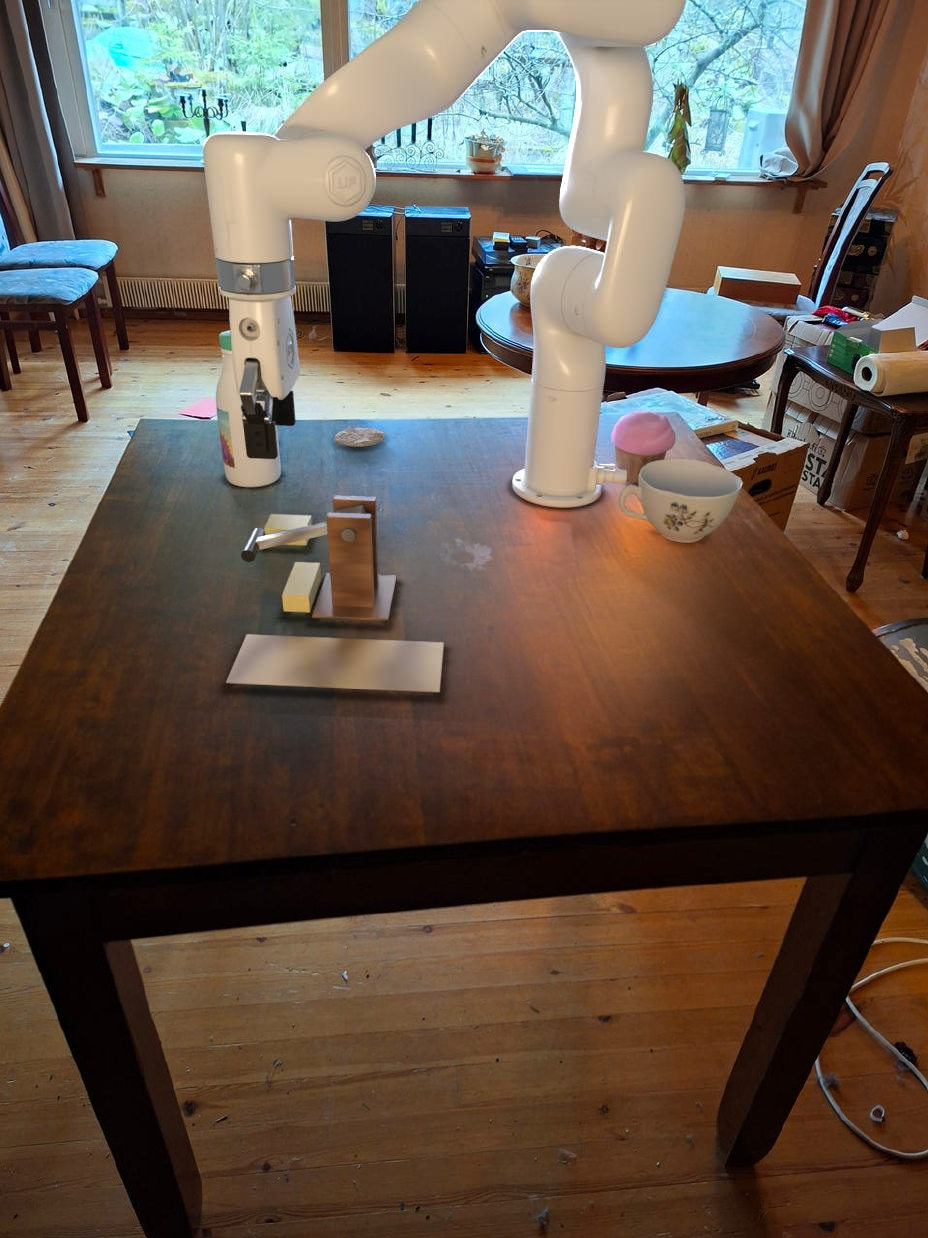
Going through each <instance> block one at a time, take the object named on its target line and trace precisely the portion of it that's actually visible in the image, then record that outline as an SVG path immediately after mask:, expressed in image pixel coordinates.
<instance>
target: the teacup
mask: <svg viewBox="0 0 928 1238" xmlns="http://www.w3.org/2000/svg"><path fill="white" fill-rule="evenodd" d="M743 484H744V482H743V480H742V478H741V477H740V476H737V475H736V474H735V473H733V472H732V471H730V470H728V469H726V468H725V467H724V468H723V467H722V466H721V467H720V466H718V465H713V464H711V463H709V462H705V461H701V460H697V459H692V458H677V457H673V458H672V457H671V458H664V460H656V461H653V462H650V463H647V464H646V465H645V466H644V467H642V468H641V470H640V473H639V478H638V483H637V485H638V486H637V485H635V484H629V485H626V486H625V487H624V488H623V489H622V490H621V492H620V493H619V499H618V506H619V509H620V511H621V512H622V513H623V514H624V515H625V516H626V517H628V518H632V519H638V520H644V521H646V522H648V523H649V524H650V525H651V526H652V527H653V528H654V529H655V530H656V531H657V532H658V534H659V535H660V536H661V537H663V538H664V539H666V540H668V541H672V542H675V543H683V544H691V543H695V542H699V541H700V540H702V539H704V537H705V536H707V535H709V534H710V533H712V532H713V531H715V530H716V529H717V528H719V526H720V525H722V523H724V521H725V520H726V519H727V518H728V516H729V515H730V513H731V512H732V510H733V508H734V507H735V504H736V502H737V500H738V497H739V494H740V491H741V489H742V487H743ZM632 494H634V495H635V496H636V497H637V500H639V502H640V505H641V508H642V510H643V513H638V512H636V511H633V510H631V509H629V508H628V507H627V506H626V505H625V502H626V499H627V497H628V496H630V495H632Z"/></svg>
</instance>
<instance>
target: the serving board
mask: <svg viewBox="0 0 928 1238" xmlns="http://www.w3.org/2000/svg"><path fill="white" fill-rule="evenodd" d="M444 646H445V643H444V642H442V641H441V642H437V641H415V640H414V641H413V640H395V639H393V640H392V639H391V640H390V639H368V638H367V639H365V638H343V637H319V636H299V635H298V636H297V635H296V636H295V635H271V634H250V633H248V634H246V635H245V637H244V640H243V642H242V645H241V646H240V649H239V651H238V654H237V656H236V658H235V661H234V663H233V665H232V667H231V670H230V671H229V674H228V677H227V679H226V681H225V684H237V685H238V684H239V685H263V686H285V687H287V686H288V687H308V688H309V687H311V688H330V689H332V688H333V689H334V688H335V689H354V690H355V689H358V690H376V691H377V690H380V691H399V692H401V691H402V692H403V691H404V692H423V693H424V692H425V693H427V692H428V693H440V692H441V680H442V669H443V660H444V659H443V657H444Z"/></svg>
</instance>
